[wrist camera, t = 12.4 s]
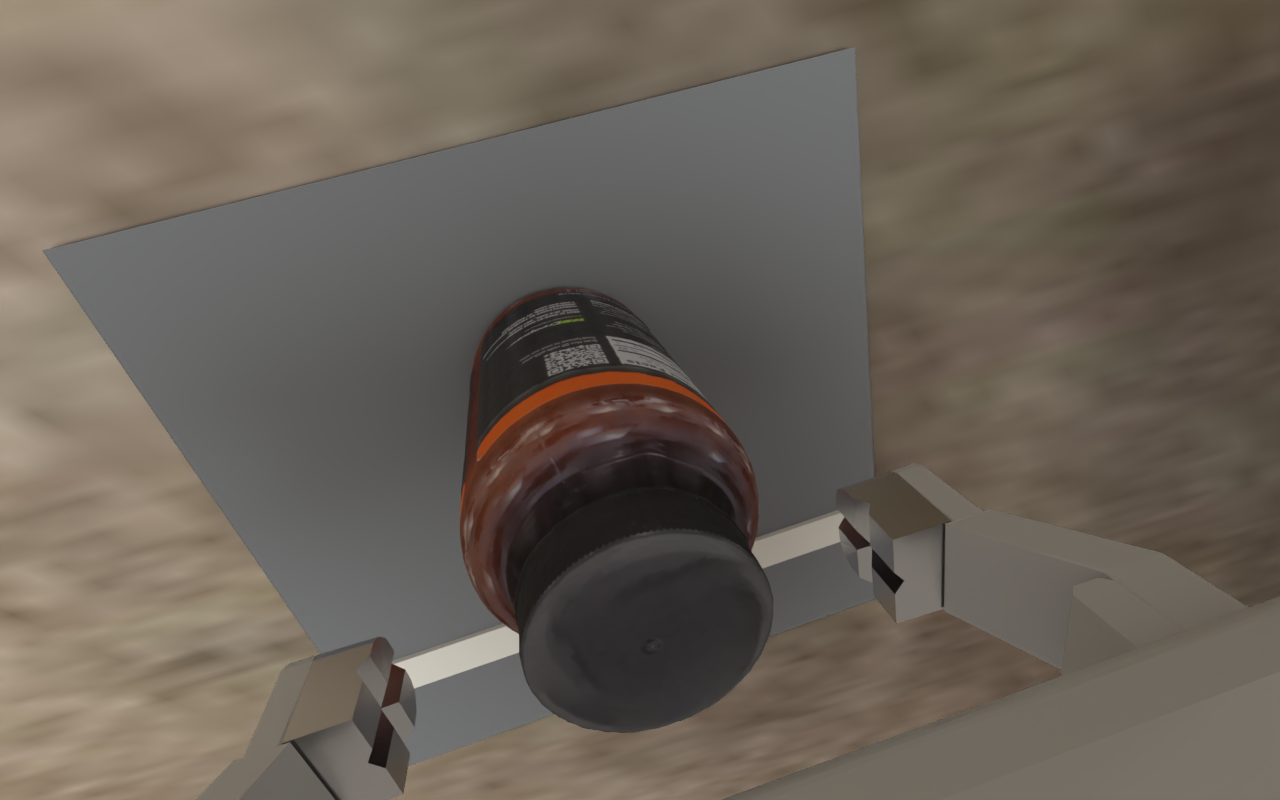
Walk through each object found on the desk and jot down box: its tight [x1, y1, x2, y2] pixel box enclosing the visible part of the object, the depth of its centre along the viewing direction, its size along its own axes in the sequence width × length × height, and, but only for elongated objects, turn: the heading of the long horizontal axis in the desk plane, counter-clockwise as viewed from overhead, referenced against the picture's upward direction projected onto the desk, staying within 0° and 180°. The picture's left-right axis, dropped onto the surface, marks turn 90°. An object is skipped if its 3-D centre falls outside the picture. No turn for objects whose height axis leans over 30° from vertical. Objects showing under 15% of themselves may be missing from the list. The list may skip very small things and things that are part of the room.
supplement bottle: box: [460, 288, 774, 733], centre depth 14 cm, size 6×6×11 cm
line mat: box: [43, 47, 876, 766], centre depth 21 cm, size 22×22×1 cm
